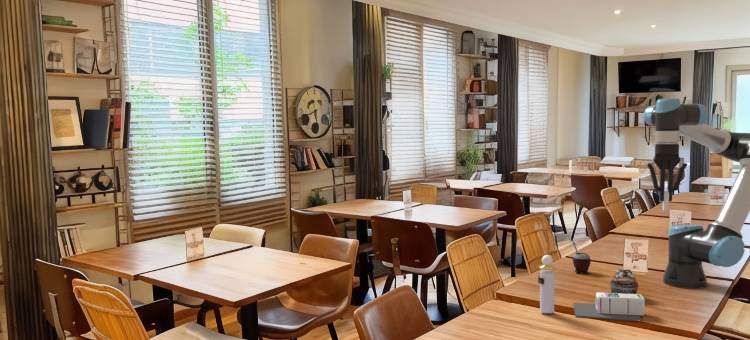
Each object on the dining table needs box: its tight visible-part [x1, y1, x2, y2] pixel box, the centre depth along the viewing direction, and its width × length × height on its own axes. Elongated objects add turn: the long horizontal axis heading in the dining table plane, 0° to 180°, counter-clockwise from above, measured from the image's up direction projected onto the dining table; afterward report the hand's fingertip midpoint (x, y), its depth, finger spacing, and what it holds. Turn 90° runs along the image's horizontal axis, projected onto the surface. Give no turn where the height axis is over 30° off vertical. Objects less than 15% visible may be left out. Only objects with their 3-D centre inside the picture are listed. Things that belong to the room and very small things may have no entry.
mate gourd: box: [567, 237, 591, 275], centre depth 250 cm, size 8×8×15 cm
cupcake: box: [609, 269, 639, 294], centre depth 215 cm, size 10×10×10 cm
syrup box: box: [595, 291, 646, 316], centre depth 197 cm, size 6×6×14 cm
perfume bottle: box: [537, 254, 557, 314], centre depth 199 cm, size 6×6×20 cm
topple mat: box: [572, 302, 642, 322], centre depth 199 cm, size 20×14×1 cm
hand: (665, 210), depth 208 cm, fingers closed
